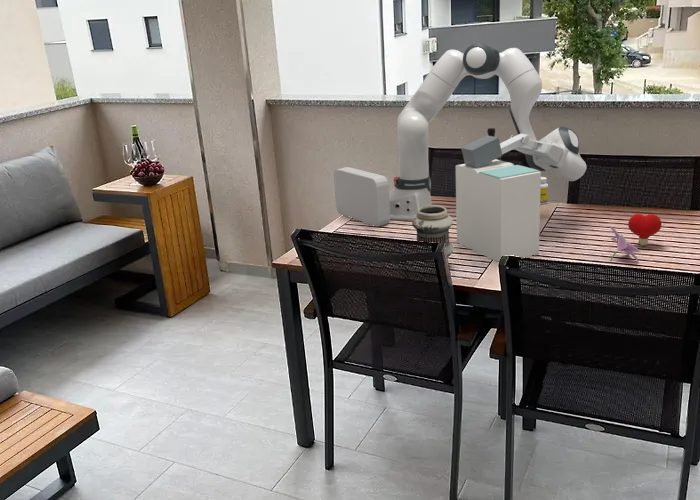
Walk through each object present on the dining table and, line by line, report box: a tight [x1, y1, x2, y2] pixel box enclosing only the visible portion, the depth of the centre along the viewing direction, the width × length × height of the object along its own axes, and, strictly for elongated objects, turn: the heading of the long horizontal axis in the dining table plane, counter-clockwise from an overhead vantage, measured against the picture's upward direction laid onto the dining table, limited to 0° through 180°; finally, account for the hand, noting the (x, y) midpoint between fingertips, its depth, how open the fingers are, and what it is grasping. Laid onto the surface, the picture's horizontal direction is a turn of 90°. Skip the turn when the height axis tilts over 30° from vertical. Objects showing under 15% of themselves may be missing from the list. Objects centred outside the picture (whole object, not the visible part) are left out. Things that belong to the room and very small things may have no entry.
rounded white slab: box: [333, 166, 391, 228], centre depth 249 cm, size 29×8×18 cm, turn 33°
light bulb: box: [627, 213, 662, 247], centre depth 202 cm, size 9×7×10 cm
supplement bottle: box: [540, 176, 549, 205], centre depth 254 cm, size 5×5×10 cm
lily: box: [608, 225, 642, 263], centre depth 192 cm, size 12×12×10 cm
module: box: [460, 134, 529, 168], centre depth 207 cm, size 22×6×6 cm, turn 114°
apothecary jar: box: [411, 204, 455, 268], centre depth 196 cm, size 12×12×18 cm
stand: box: [455, 159, 542, 263], centre depth 206 cm, size 14×24×26 cm, turn 24°
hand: (517, 138), depth 209 cm, fingers closed on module, 4 cm apart
